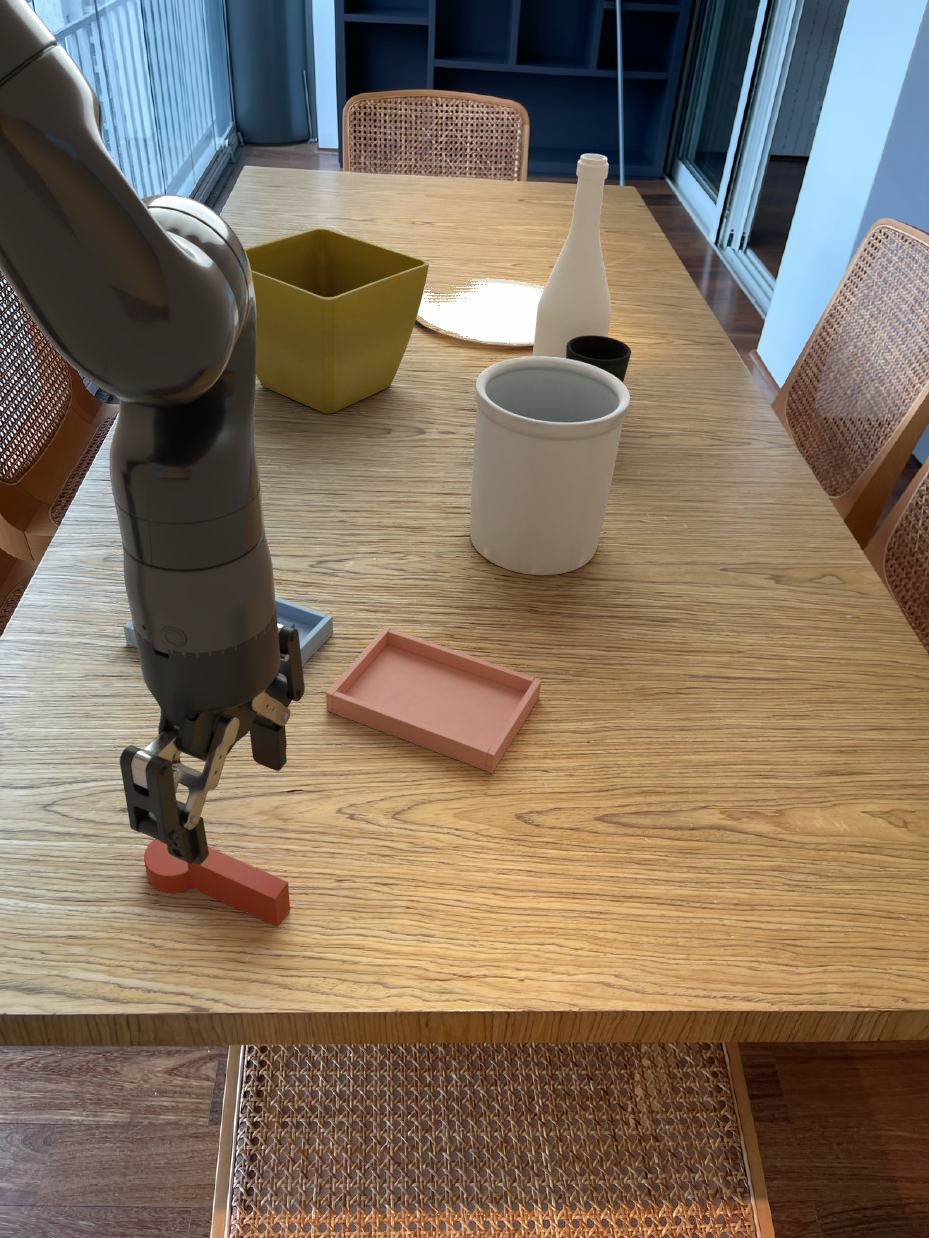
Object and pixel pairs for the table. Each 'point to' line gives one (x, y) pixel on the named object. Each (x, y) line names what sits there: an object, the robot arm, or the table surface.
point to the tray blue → (306, 620)
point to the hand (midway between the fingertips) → (232, 808)
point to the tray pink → (435, 698)
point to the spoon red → (220, 881)
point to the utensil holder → (543, 461)
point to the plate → (487, 312)
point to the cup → (600, 353)
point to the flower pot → (332, 315)
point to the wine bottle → (577, 271)
